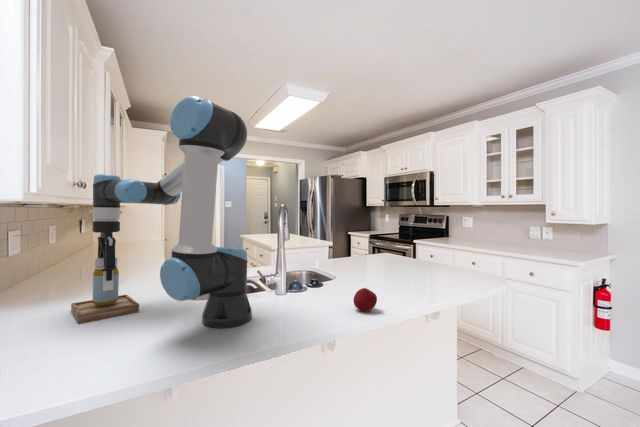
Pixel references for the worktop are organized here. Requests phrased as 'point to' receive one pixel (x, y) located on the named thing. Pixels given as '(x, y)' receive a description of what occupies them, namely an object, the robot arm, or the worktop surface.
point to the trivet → (103, 309)
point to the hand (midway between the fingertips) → (105, 287)
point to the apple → (365, 300)
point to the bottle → (98, 293)
